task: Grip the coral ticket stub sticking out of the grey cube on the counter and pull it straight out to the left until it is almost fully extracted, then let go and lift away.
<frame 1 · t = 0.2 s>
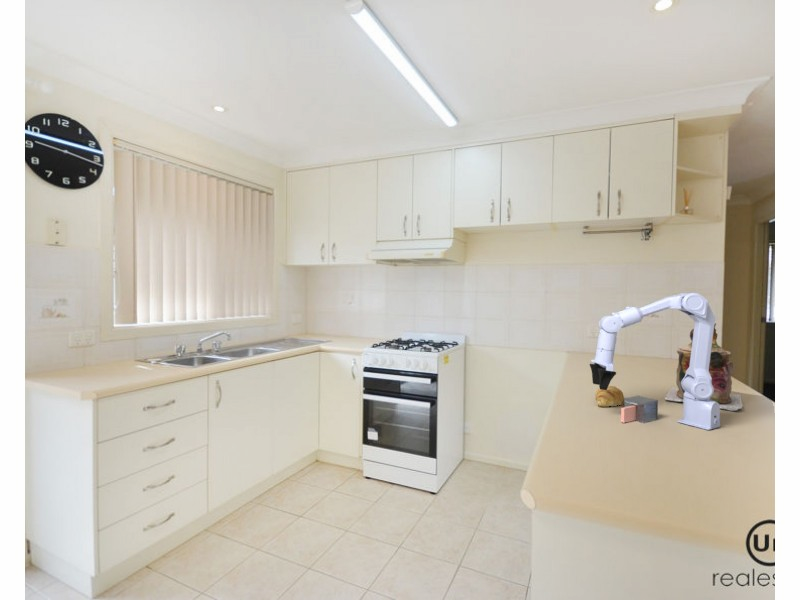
hand: (599, 386, 143), 10 cm above the counter, tool pointing down, fingers open, 7 cm apart
grey cube: (640, 418, 140), on the counter
croissant: (608, 403, 160), on the counter
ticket: (634, 412, 138), point 3 cm above the counter, slide at 0.0 cm
cookie jar: (703, 401, 165), on the counter
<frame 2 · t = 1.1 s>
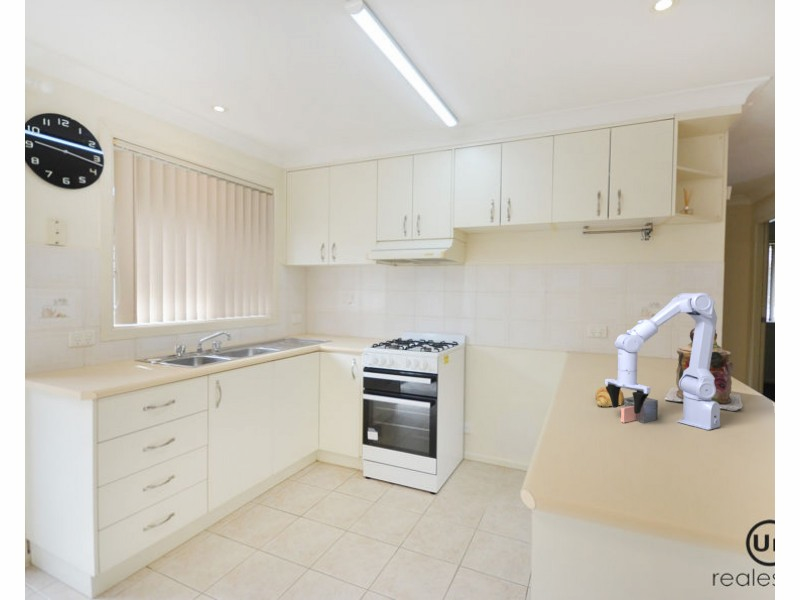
hand: (626, 409, 136), 4 cm above the counter, tool pointing down, fingers open, 7 cm apart
nothing on the counter moved.
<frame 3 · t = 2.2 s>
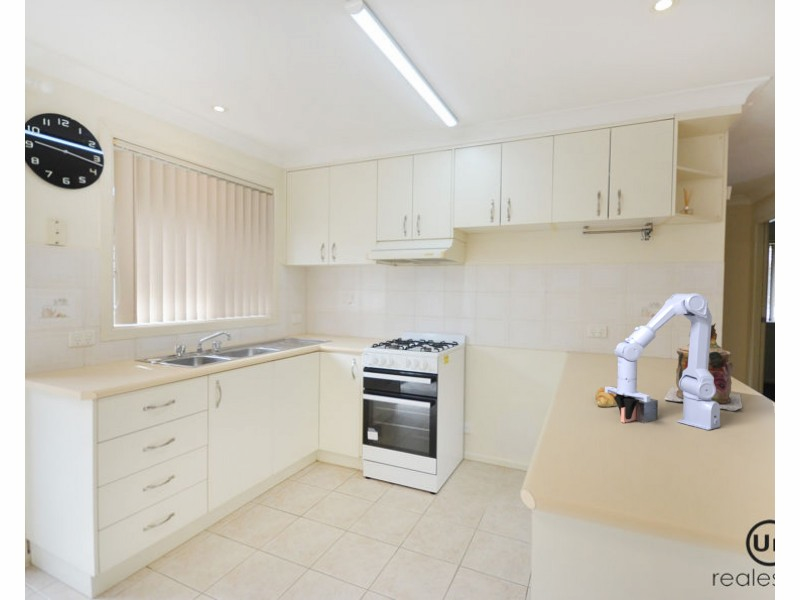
hand: (626, 418, 136), 1 cm above the counter, tool pointing down, fingers closed, pressing on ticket
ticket: (634, 412, 138), point 3 cm above the counter, slide at 0.0 cm, touching gripper
everything else where it was.
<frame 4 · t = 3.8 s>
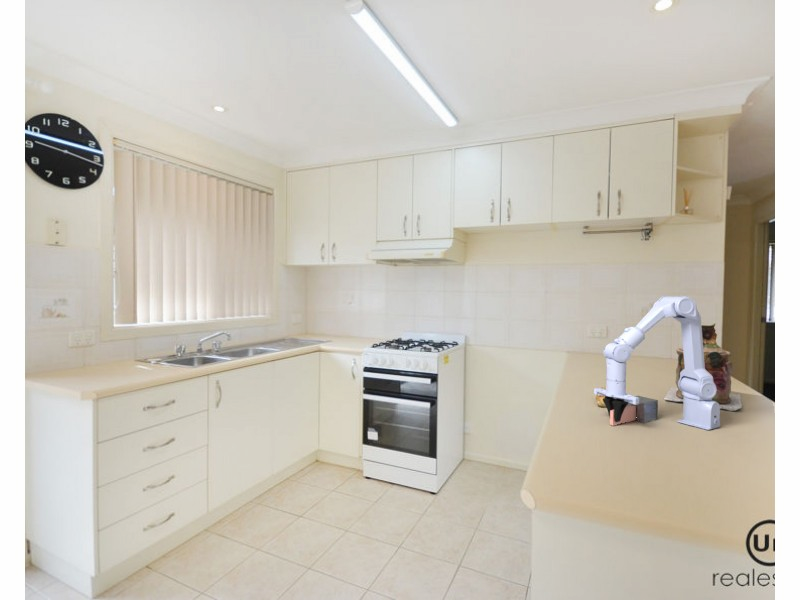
hand: (615, 420, 133), 1 cm above the counter, tool pointing down, fingers closed, pressing on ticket
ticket: (623, 415, 135), point 3 cm above the counter, slide at 6.0 cm, touching gripper
everything else where it was.
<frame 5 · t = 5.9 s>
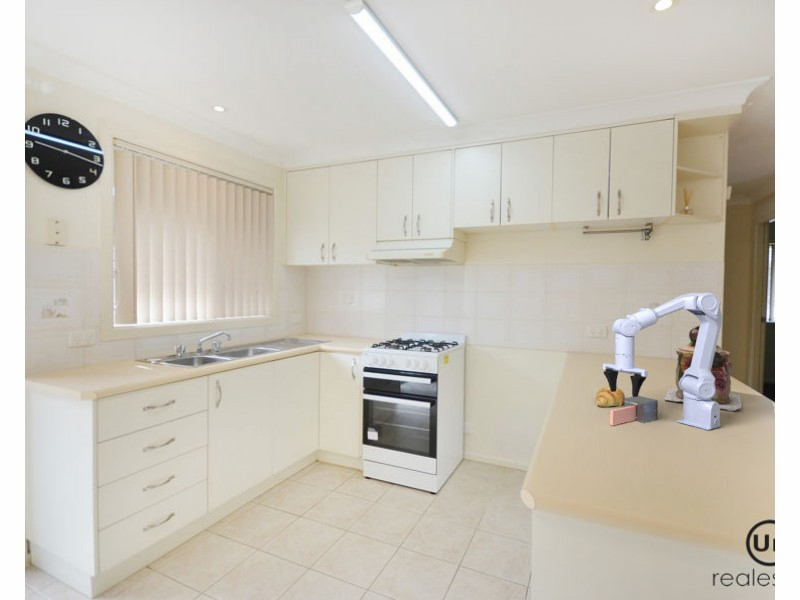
hand: (624, 393, 137), 9 cm above the counter, tool pointing down, fingers open, 7 cm apart
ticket: (623, 415, 135), point 3 cm above the counter, slide at 6.0 cm
everything else where it was.
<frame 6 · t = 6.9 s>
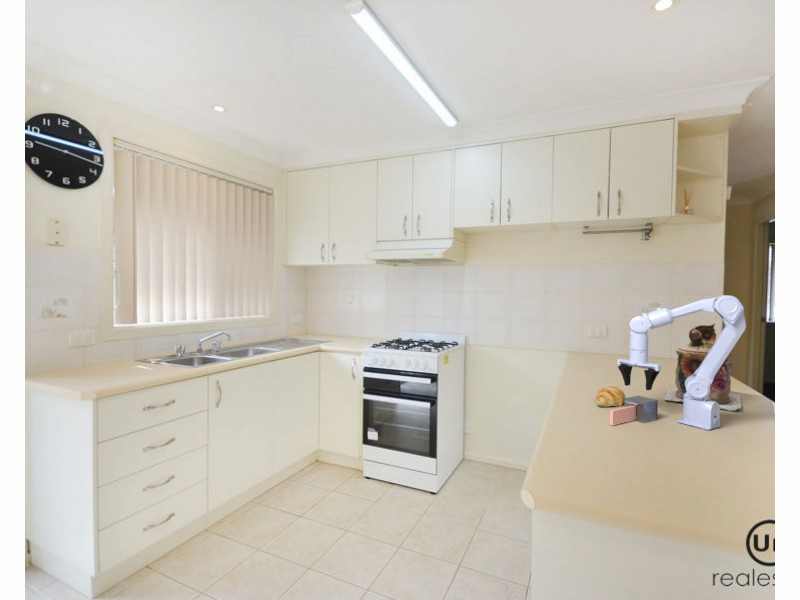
hand: (637, 387, 144), 10 cm above the counter, tool pointing down, fingers open, 7 cm apart
nothing on the counter moved.
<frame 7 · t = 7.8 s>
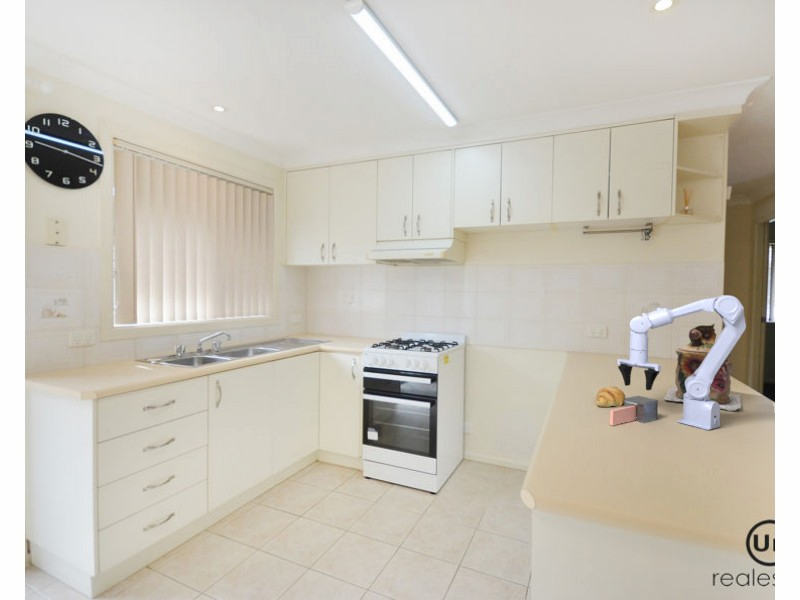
hand: (637, 387, 144), 10 cm above the counter, tool pointing down, fingers open, 7 cm apart
nothing on the counter moved.
at the end: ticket slide at 6.0 cm; the gripper is holding nothing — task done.
